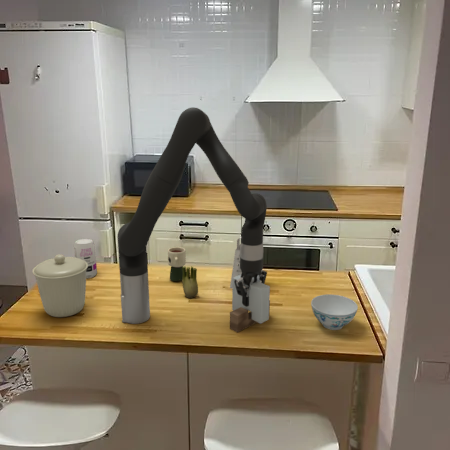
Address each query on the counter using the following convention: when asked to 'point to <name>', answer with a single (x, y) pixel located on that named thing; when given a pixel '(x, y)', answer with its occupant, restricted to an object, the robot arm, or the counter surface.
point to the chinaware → (333, 310)
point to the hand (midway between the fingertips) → (250, 303)
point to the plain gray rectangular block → (254, 300)
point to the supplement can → (86, 255)
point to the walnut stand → (241, 319)
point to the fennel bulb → (189, 282)
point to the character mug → (176, 262)
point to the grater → (236, 268)
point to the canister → (62, 285)
